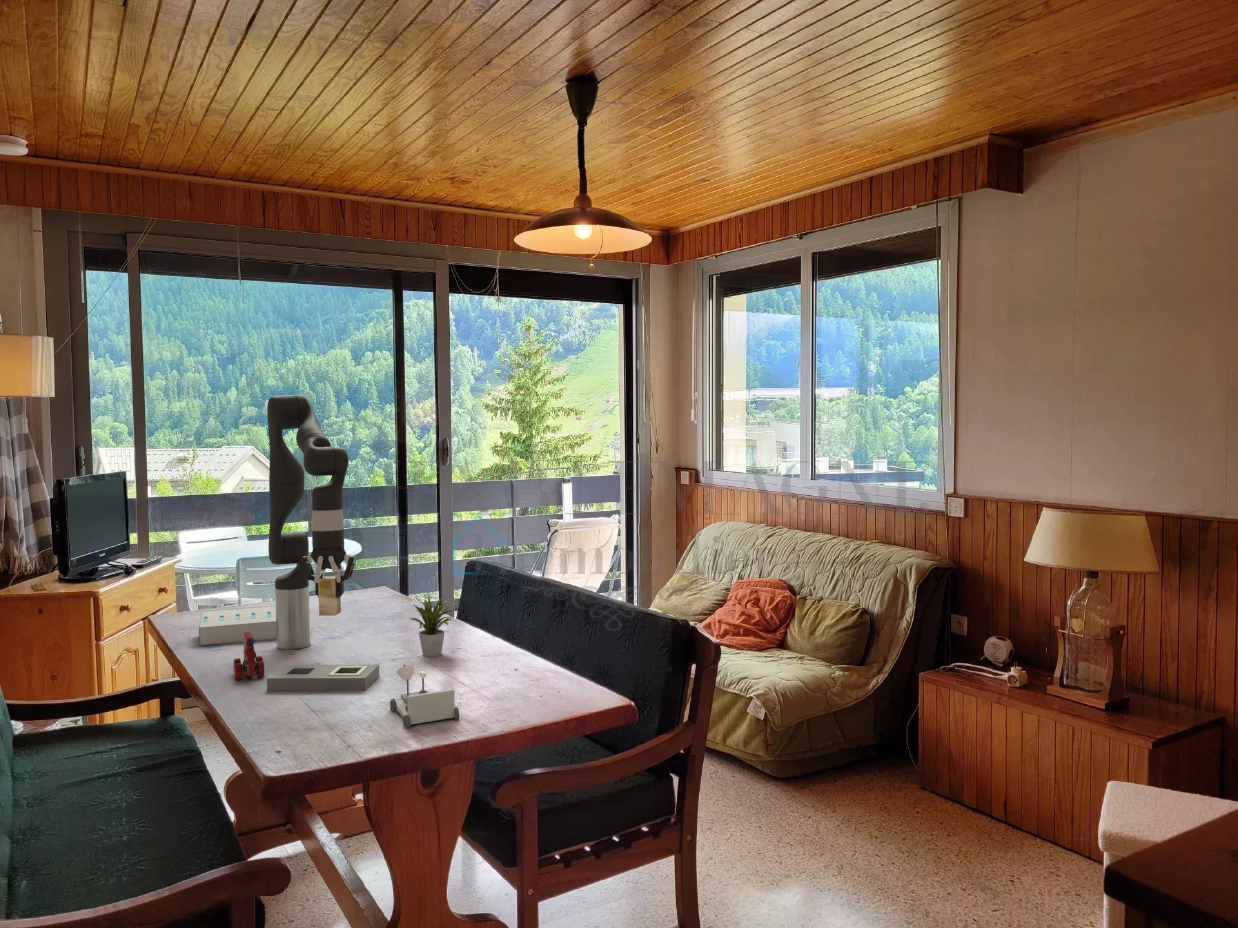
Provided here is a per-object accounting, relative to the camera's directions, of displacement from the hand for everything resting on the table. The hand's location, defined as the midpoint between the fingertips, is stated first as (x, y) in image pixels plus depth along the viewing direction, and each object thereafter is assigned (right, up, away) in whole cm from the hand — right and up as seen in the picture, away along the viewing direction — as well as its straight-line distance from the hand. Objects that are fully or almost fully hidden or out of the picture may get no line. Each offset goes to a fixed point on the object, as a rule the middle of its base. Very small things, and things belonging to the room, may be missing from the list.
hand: (329, 596), depth 222 cm
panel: (-2, -22, +2) cm, 22 cm away
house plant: (+20, -21, +27) cm, 39 cm away
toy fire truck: (-24, -22, +9) cm, 34 cm away
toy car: (+28, -23, -21) cm, 42 cm away
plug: (0, -4, 0) cm, 4 cm away
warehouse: (-40, -20, +53) cm, 69 cm away
